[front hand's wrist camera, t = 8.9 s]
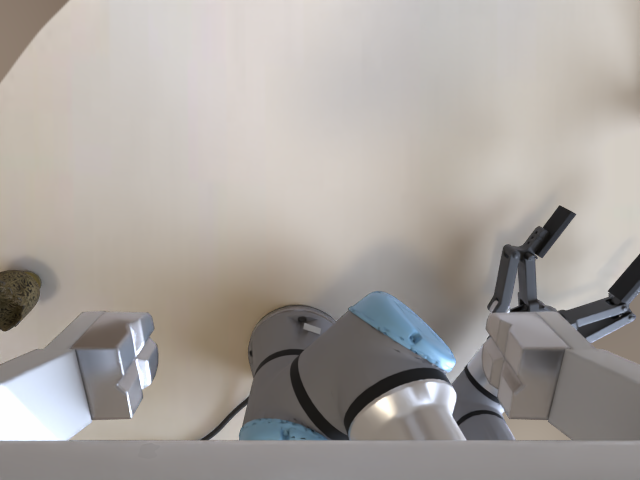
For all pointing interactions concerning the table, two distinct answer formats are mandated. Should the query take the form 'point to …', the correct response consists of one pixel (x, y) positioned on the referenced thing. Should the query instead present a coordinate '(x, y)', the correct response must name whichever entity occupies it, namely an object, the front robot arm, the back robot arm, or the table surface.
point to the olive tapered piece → (17, 296)
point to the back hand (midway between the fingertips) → (610, 233)
